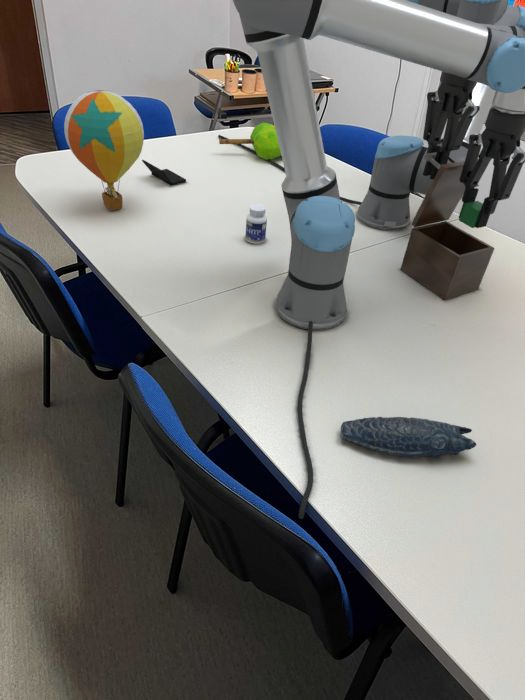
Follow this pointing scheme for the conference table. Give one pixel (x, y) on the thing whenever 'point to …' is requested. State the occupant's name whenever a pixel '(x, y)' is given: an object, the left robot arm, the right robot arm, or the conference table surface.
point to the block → (470, 213)
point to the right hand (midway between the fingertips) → (431, 176)
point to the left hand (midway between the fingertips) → (472, 221)
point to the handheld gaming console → (165, 175)
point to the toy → (105, 138)
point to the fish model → (407, 436)
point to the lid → (441, 193)
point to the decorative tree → (260, 141)
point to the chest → (446, 259)
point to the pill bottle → (256, 224)
